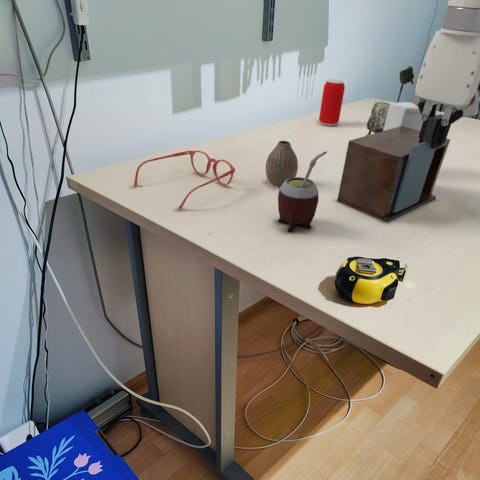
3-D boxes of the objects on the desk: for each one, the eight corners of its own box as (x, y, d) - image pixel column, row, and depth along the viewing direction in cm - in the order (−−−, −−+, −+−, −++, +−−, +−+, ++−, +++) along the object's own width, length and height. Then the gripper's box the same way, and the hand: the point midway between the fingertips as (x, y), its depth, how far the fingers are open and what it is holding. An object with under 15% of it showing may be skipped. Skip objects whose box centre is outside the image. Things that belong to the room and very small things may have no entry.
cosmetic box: (386, 177, 98) (405, 108, 89) (372, 168, 102) (388, 101, 93) (416, 174, 100) (437, 106, 91) (400, 166, 105) (419, 100, 95)
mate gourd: (282, 213, 81) (291, 131, 72) (322, 222, 79) (337, 138, 70) (269, 229, 76) (277, 143, 66) (311, 239, 74) (326, 151, 64)
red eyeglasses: (242, 190, 89) (243, 167, 86) (183, 212, 80) (181, 186, 77) (189, 167, 98) (188, 145, 95) (130, 184, 89) (127, 160, 86)
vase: (287, 192, 89) (292, 149, 84) (258, 185, 92) (261, 143, 86) (300, 182, 94) (306, 141, 88) (272, 175, 96) (276, 135, 91)
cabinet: (435, 199, 90) (455, 140, 82) (387, 222, 80) (405, 158, 72) (386, 181, 96) (401, 125, 89) (336, 201, 87) (348, 140, 79)
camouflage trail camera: (359, 146, 116) (377, 61, 103) (402, 151, 114) (425, 66, 101) (357, 155, 110) (376, 66, 97) (402, 161, 108) (427, 71, 95)
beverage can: (338, 122, 134) (346, 79, 126) (337, 127, 129) (345, 83, 121) (319, 120, 135) (325, 77, 127) (317, 125, 130) (324, 81, 122)
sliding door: (420, 203, 85) (449, 115, 74) (397, 214, 80) (424, 123, 70) (413, 200, 86) (441, 113, 75) (389, 211, 81) (415, 120, 71)
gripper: (531, 27, 63) (481, 153, 74) (434, 17, 72) (403, 131, 83) (510, 29, 59) (461, 162, 70) (410, 18, 68) (381, 137, 79)
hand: (430, 144), depth 77 cm, fingers closed on sliding door
